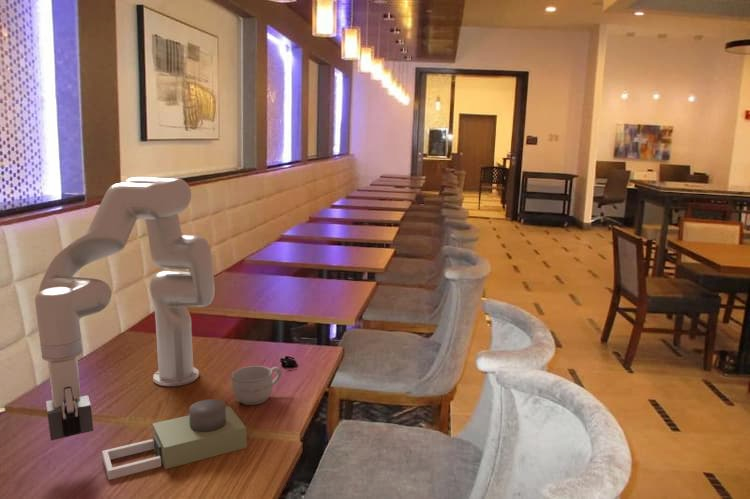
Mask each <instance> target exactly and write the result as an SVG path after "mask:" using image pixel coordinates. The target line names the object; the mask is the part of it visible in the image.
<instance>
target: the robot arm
mask: <svg viewBox="0 0 750 499" xmlns="http://www.w3.org/2000/svg"><path fill="white" fill-rule="evenodd" d="M191 190H192V189H191V187H190V185H189V184H188V183H187V182H186V180H184V179H181V178H174V177H173V178H172V177H154V176H153V177H151V176H134V177H129V178H127V179H125V180H124V181H123V182H118V183H114V184H112V185H111V186H109V187H108V189H106V191H105V194H104V196H103V198H102V200H101V202H100V204H99V207H98V208H97V211H96V213H95V215H94V216H93V219H92V220H91V223H90V224H89V227H88V229H87V231H86V233H84V234H83V235H82V236H80V237H78V238H77V239H75V240H74V241H72V242H70V244H68V245H67V246H66V247H64V249H61V250H60V252H58V253H57V254H56V255H55V256H54V257H53V259H52V260H51V262H50V264H49V265H48V267H47V269H46V271H45V273H44V275H43V278H42V280H41V282H40V285H39V289H38V293H36V295H35V299H34V301H35V302H34V304H35V312H36V321H37V327H38V336H39V344H40V352H41V358H42V360H44V361H47V364H48V366H47V368H48V376H49V384H50V393H51V400H53V405H54V407H56V408H58V407H59V406H62V413H63V418H62V425H63V434H64V436H68V435H73V434H77V433H80V432H81V428H80V419H79V414H78V412H77V403H78V402H79V401H80V397H81V396H80V395H81V392H80V373H79V372H80V371H79V365H78V364H79V363H78V357H79V356H81V355H82V354H83V350H84V349H83V340H82V330H81V323H80V320H81V319H82V318H84V317H87V316H92V315H95V314H98V313H100V312H102V311H103V310H104V309H106V307H108V305H109V304H110V301H112V300H111V298H112V290H111V287H110V285H109V284H108V283H107V282H105V280H102V279H99V278H98V279H97V278H88V277H76V276H75V274H77V272H78V271H80V270H81V269H82V268H84V267H85V266H87V265H90V264H91V263H93V262H94V263H95V261H99V260H101V259H104V258H107V257H109V256H112V255H115V254H118V253H120V252H122V251H123V249H125V247H126V245H127V242H128V240H129V237H130V235H131V233H132V231H133V228H134V226H135V224H136V221H137V220H140V219H141V220H144V222H145V225H146V229H147V230H146V232H147V236H148V244H149V245H148V246H149V250H150V256H151V260H152V263H153V265H154V266H156V267H158V268H160V269H167V270H163V271H159V272H157V273H156V274H154V275H153V276H152V277H151V279H150V282H149V294H150V297H151V300H152V305H153V310H154V317H155V332H156V335H155V336H156V347H157V348H156V351H157V366H158V367H157V368H158V370H157V371H156V372H155V373H154V374H153V376H152V381H153V383H155V384H156V385H158V386H162V387H180V386H184V385H188V384H191V383H193V382H195V381H196V380H197V379H198V378H199V376H200V371H199V369H197V368H196V367H194V354H193V338H192V337H193V333H192V317H191V314H190V312H189V311H188V308H187V307H193V308H195V307H196V308H197V307H198V308H203V307H208V305H210V304H211V303H212V302H213V300H214V297H215V292H216V290H215V287H216V286H215V276H214V275H215V274H214V265H213V258H212V256H213V255H212V250H211V247H210V244H209V242H208V240H207V239H206V238H204V237H203V236H200V235H193V234H184V233H183V232H182V229H181V224H180V223H181V222H180V217H179V214H180V213H182V212H184V211H185V210H187V208H188V207H189V205H190V203H191V201H192V191H191ZM72 399H74V401H73V400H72ZM63 401H66V403H63ZM73 405H74V407H73ZM65 407H67V410H65ZM77 435H78V434H77ZM73 436H74V435H73Z"/></svg>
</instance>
